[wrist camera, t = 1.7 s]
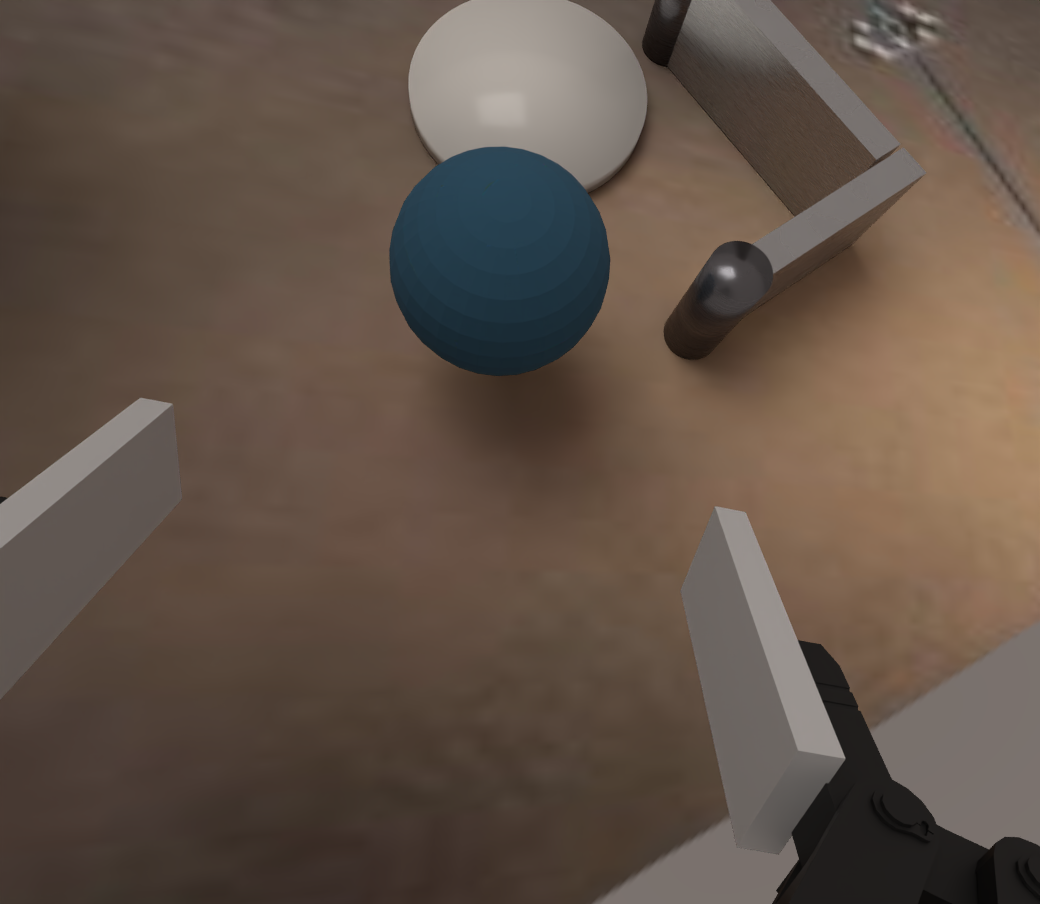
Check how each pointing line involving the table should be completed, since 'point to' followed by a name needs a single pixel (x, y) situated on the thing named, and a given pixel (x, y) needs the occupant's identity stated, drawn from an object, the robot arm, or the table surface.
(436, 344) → the dark blue rounded piece
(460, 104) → the coaster
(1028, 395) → the table surface
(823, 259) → the bent rail
